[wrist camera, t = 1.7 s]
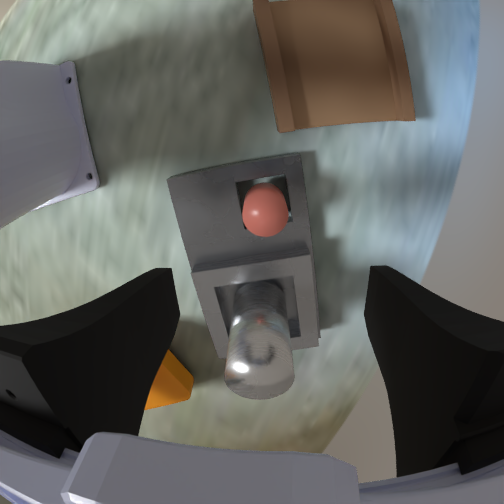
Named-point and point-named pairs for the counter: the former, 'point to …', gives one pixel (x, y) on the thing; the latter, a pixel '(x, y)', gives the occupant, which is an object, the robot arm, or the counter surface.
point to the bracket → (170, 383)
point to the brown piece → (334, 62)
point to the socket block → (246, 246)
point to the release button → (265, 210)
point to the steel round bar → (259, 343)
